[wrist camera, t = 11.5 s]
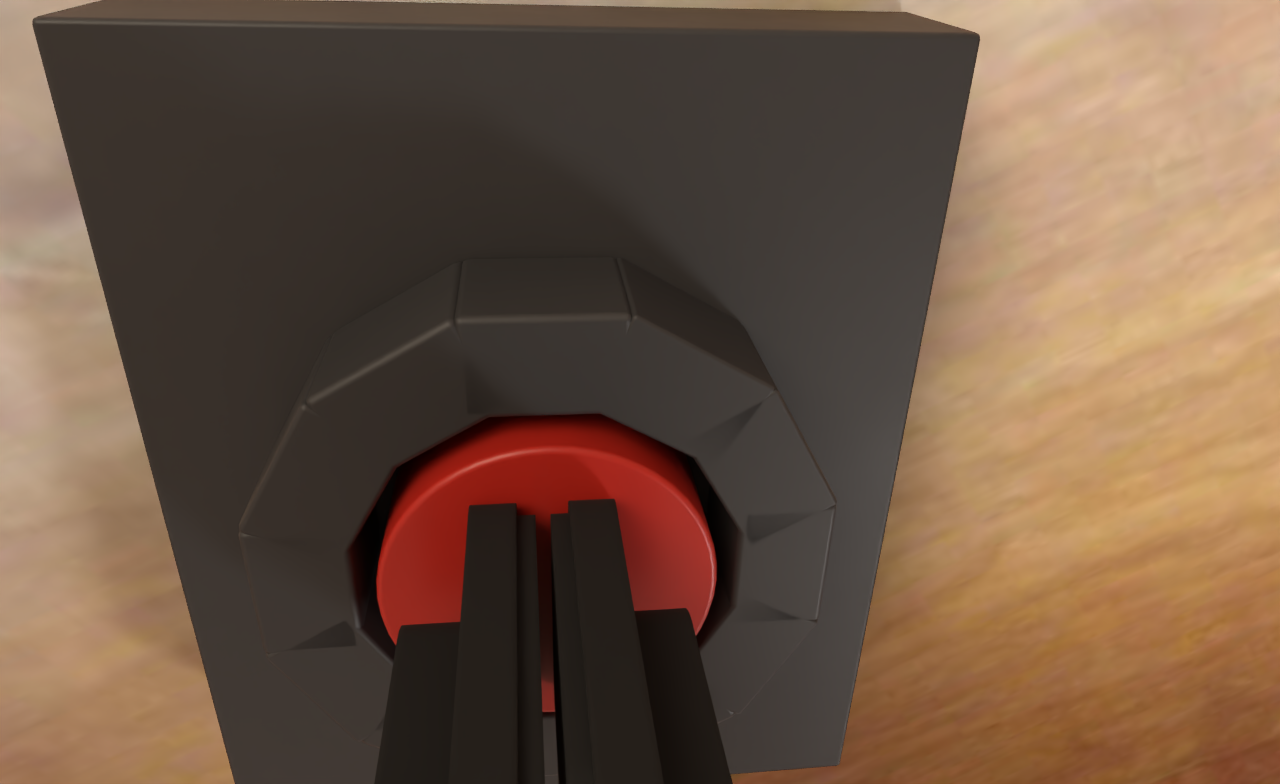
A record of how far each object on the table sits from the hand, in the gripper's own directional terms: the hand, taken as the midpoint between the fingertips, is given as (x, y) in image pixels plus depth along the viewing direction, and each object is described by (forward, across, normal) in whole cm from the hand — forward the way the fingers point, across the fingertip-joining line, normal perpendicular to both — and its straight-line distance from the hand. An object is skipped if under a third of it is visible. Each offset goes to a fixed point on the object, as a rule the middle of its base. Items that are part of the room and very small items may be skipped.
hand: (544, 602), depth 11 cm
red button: (+2, 0, 0) cm, 2 cm away
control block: (+4, 0, 0) cm, 4 cm away
